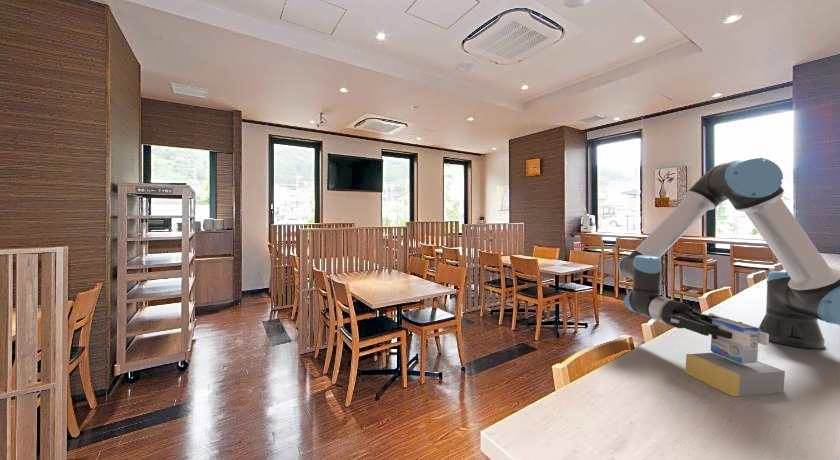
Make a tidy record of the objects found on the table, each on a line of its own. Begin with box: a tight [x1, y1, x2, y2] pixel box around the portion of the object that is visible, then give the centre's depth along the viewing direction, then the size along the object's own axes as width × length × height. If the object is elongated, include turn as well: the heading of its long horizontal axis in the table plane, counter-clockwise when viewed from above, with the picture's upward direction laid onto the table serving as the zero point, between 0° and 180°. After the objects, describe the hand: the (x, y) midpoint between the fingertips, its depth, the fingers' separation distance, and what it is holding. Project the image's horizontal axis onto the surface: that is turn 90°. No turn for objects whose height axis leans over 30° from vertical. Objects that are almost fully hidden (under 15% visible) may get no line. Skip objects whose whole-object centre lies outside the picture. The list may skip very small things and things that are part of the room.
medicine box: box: [710, 317, 759, 364], centre depth 86 cm, size 8×4×9 cm, turn 8°
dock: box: [685, 352, 786, 397], centre depth 87 cm, size 14×12×5 cm
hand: (757, 340), depth 81 cm, fingers open, 4 cm apart
